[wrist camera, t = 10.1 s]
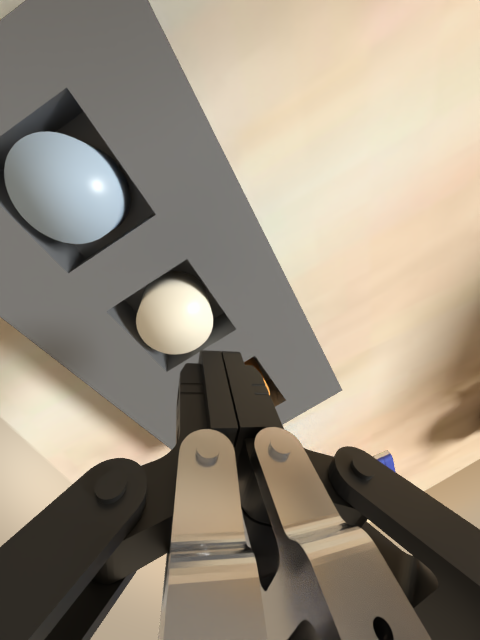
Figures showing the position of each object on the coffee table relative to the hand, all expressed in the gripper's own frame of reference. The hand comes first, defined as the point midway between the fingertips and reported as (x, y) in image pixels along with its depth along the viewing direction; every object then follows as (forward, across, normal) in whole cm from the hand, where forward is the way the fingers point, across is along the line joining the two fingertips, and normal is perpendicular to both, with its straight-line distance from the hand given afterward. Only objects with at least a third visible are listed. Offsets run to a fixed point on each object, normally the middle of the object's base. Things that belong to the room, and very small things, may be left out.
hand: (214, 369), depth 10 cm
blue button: (+9, +7, -5) cm, 12 cm away
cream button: (+9, +1, +1) cm, 9 cm away
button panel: (+10, +2, +1) cm, 10 cm away
